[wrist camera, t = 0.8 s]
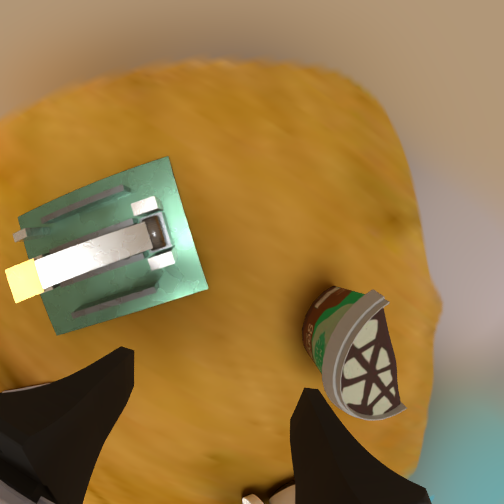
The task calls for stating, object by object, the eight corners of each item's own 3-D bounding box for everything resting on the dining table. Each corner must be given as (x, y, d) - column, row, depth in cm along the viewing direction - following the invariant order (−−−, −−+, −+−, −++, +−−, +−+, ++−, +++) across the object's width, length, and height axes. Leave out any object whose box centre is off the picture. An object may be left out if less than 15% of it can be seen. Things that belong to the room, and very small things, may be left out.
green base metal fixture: (169, 158, 25) (162, 142, 20) (208, 286, 27) (211, 302, 22) (22, 217, 23) (-9, 217, 17) (60, 332, 25) (37, 353, 19)
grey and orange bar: (155, 216, 22) (158, 214, 21) (164, 246, 22) (168, 245, 21) (8, 269, 16) (4, 270, 15) (19, 300, 17) (15, 303, 16)
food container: (273, 298, 28) (312, 335, 19) (329, 272, 29) (388, 295, 20) (310, 393, 30) (349, 447, 21) (357, 368, 31) (407, 412, 21)
